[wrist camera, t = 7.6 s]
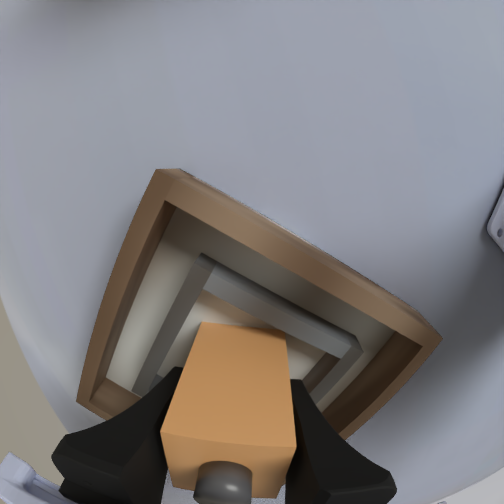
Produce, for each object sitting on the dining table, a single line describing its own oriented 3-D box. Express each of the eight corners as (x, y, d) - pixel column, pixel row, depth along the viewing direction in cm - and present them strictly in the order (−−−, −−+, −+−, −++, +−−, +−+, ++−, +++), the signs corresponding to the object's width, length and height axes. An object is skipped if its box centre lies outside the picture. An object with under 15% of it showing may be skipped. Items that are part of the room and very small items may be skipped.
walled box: (416, 310, 14) (442, 338, 11) (278, 455, 17) (279, 487, 15) (179, 168, 12) (156, 169, 9) (96, 373, 16) (75, 401, 13)
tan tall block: (284, 329, 14) (299, 478, 6) (273, 389, 15) (276, 522, 7) (201, 321, 14) (149, 461, 6) (201, 382, 15) (167, 509, 7)
